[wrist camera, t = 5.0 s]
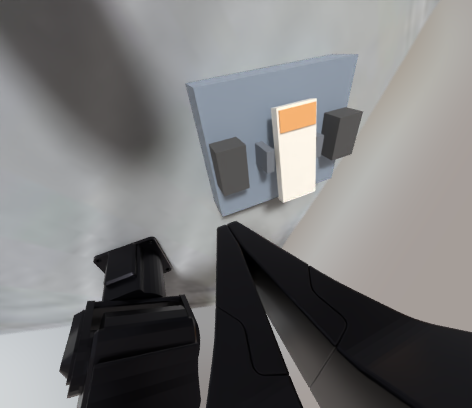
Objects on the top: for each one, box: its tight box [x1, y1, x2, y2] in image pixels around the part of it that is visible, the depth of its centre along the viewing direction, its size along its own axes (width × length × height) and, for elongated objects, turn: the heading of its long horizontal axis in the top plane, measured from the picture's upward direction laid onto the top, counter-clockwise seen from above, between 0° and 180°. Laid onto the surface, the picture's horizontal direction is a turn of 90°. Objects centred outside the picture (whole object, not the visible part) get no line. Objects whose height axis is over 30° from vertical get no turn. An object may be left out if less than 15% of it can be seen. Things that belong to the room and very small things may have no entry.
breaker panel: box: [186, 54, 358, 217], centre depth 19 cm, size 12×14×5 cm
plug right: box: [321, 107, 363, 160], centre depth 19 cm, size 4×2×2 cm, turn 8°
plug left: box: [209, 137, 250, 196], centre depth 17 cm, size 4×2×2 cm, turn 8°
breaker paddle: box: [271, 98, 317, 203], centre depth 17 cm, size 8×4×1 cm, turn 8°
